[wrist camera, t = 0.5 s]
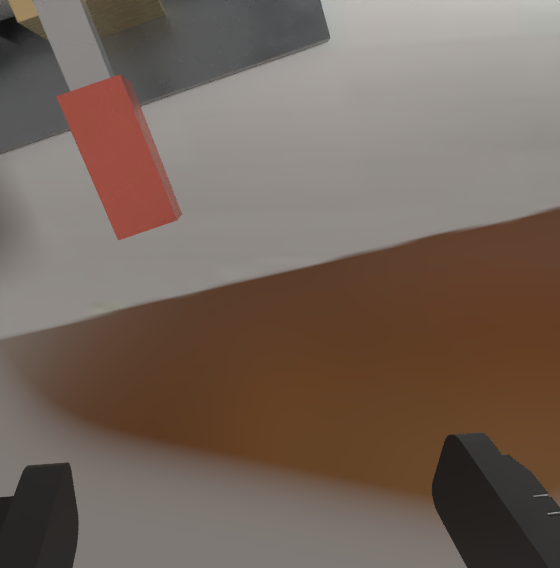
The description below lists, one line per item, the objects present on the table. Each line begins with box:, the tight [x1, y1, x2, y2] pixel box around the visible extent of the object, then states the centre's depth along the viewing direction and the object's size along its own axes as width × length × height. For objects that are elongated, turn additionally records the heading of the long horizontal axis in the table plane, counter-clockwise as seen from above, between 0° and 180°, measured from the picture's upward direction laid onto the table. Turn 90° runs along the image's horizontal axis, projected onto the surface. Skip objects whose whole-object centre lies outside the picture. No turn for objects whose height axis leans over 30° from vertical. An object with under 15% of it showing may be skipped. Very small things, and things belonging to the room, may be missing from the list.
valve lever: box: [32, 0, 182, 240], centre depth 21 cm, size 17×4×2 cm, turn 18°
